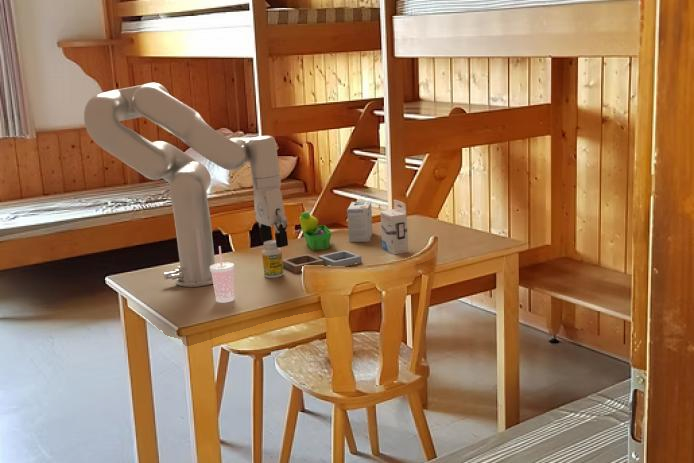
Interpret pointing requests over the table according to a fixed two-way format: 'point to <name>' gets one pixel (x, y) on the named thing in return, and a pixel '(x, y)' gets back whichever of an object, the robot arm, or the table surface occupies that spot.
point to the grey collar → (349, 256)
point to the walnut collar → (291, 262)
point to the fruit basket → (314, 232)
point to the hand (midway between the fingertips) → (274, 243)
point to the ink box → (394, 229)
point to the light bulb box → (359, 221)
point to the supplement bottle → (272, 260)
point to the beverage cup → (223, 280)
